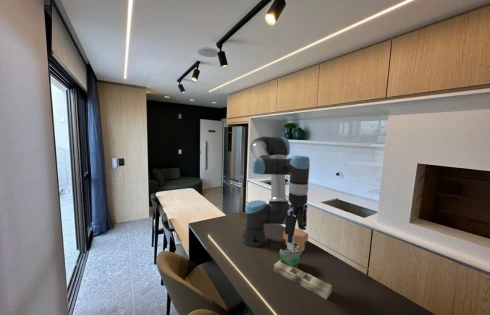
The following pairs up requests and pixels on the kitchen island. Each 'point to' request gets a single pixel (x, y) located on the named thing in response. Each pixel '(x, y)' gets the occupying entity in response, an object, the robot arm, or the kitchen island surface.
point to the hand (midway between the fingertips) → (295, 246)
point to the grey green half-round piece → (290, 256)
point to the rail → (303, 279)
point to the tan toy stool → (298, 238)
